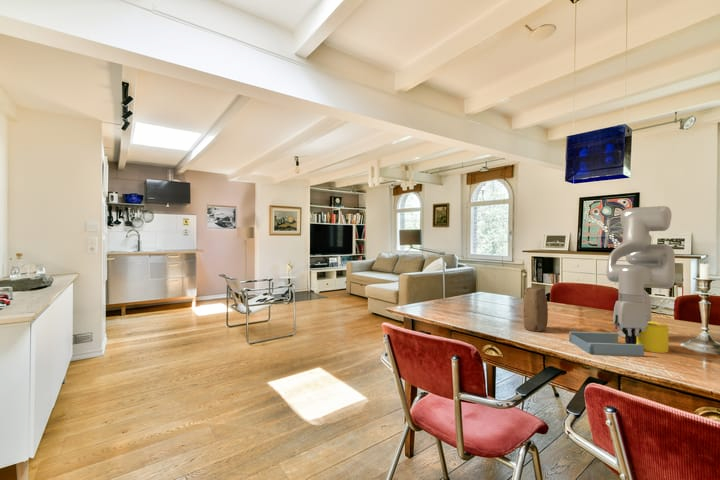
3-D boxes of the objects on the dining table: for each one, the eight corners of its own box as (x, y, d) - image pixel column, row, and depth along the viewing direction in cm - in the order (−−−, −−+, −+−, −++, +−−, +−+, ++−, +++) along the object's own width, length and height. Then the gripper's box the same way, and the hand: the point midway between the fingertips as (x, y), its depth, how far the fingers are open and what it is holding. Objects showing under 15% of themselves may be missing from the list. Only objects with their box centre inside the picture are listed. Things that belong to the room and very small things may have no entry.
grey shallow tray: (616, 342, 133) (616, 332, 133) (643, 356, 117) (643, 345, 117) (569, 340, 135) (569, 331, 135) (590, 354, 120) (590, 343, 120)
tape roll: (645, 342, 132) (645, 320, 132) (675, 351, 122) (675, 326, 122) (627, 345, 129) (627, 322, 129) (656, 353, 120) (656, 328, 120)
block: (537, 333, 146) (536, 289, 146) (521, 329, 153) (521, 287, 153) (550, 329, 152) (550, 287, 152) (534, 325, 158) (534, 285, 158)
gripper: (644, 297, 128) (644, 343, 127) (603, 296, 129) (603, 341, 129) (659, 300, 120) (659, 349, 120) (616, 299, 122) (616, 348, 122)
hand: (630, 345), depth 125 cm, fingers closed
